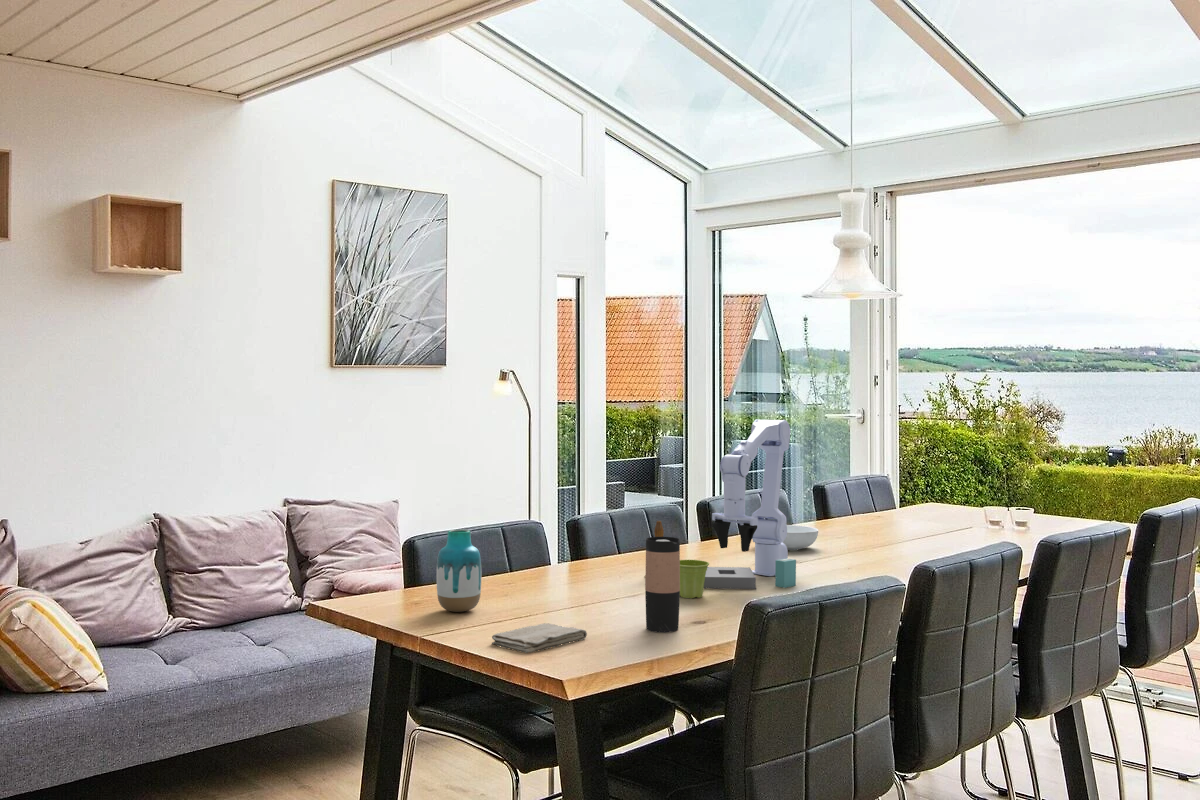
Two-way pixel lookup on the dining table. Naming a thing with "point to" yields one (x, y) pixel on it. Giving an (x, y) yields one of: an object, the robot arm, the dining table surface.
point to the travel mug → (662, 584)
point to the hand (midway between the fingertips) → (734, 549)
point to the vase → (458, 573)
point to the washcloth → (538, 637)
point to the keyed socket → (730, 578)
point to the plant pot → (692, 578)
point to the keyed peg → (785, 573)
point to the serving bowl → (800, 537)
